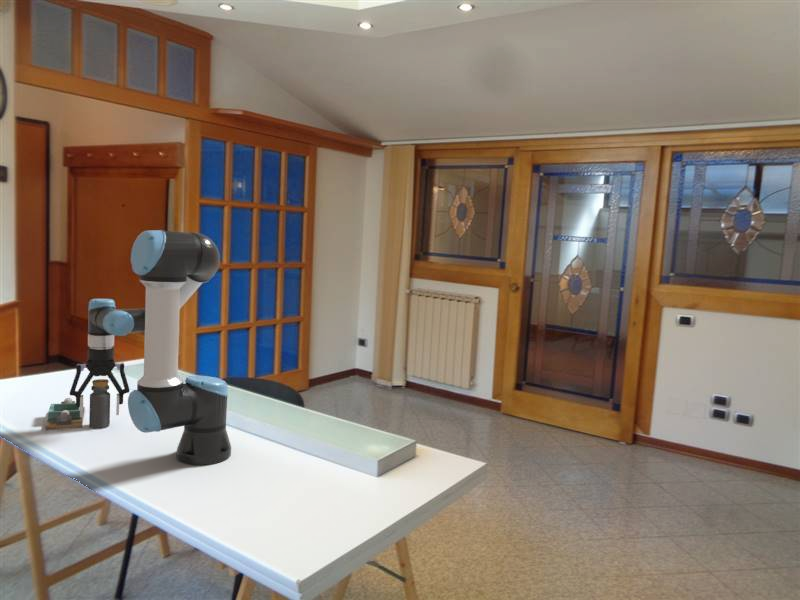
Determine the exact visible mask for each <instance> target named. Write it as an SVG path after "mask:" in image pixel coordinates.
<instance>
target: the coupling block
mask: <svg viewBox="0 0 800 600" xmlns="http://www.w3.org/2000/svg"><path fill="white" fill-rule="evenodd" d="M85 412H86V411H85V406H83V417H80V407H77V406H76V400H73V399H72V398H71V397H66V398H64V400H63V401H61V402H60V403H51V404H50V406H49V409H48V411H47V421H46V424H45V427H44V428H45V429H44V430H45V431H51V430H54V431H55V430H66V429H67V430H68V429H79V428H80V429H81V428H83V424H84V415H85Z"/></svg>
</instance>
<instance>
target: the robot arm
mask: <svg viewBox="0 0 800 600" xmlns="http://www.w3.org/2000/svg"><path fill="white" fill-rule="evenodd" d="M131 247H132V248H131V253H130V264H131V268H132V269H131V270H132V272H133V273H135V274H136V275H138V276H139V282H140V283H141V284H142V285H143V286H144V287H145V304H144V305H145V306H144V307H145V308H144V307H141V308H140V307H139V308H122V309H118V308H117V307H116V302H115V300H114V299H112V298H92V299H90V300H89V302H88V309H87V314H88V315H87V316H88V317H87V319H88V323H87V326H88V329H87V347H88V348H87V360H86V361H87V362H86V363H77V364H76V366H75V368H76V372H75V375H74V379H73V381H72V384H71V388H70V390H69V396H74V397H75V403H76V406H77V407H80V417H83V407H84V395H83V392H84V391H85V390H86V388H87V386H88V385H89V383H90V382H91V380H92V379H93V377H107V378H109V380H110V382H111V383H112V385H113V387H114V389H116V391H117V392H118V393H116V409H115V410H116V411H115V412H116V413H115V414H116V415H115V416H119V415H120V405H123V404H124V395H125V394H129V395H128V397H127V407H128V408H127V409H128V413H129V417H130V418H131V421H132V423H133V425H134V427H135V428H136V429H137V430H139V431H140V432H141V433H146V434H147V433H154V432H156V433H158V432H161V431H165V430H169V429H170V430H171V429H174V428H175V429H176V428H179V427H183V432H182V435H181V437H180V439H179V443H178V445H177V447H176V459H177V460H178V461H180V462H182V463H184V464H189V465H195V466H196V465H203V466H204V465H212V464H213V465H214V464H217V463H221V462H223V461H225V460H228V459H229V458H230V457H231V456H232V445H231V441H230V439H229V435H228V431H227V413H228V411H227V410H228V407H227V406H228V397H229V394H228V393H229V392H228V383H227V382H226V381H225V380H223V379H221V378H219V377H215V376H208V375H189V376H186V378H185V380H184V379H183V378H182V377H181V376H179V349H180V346H179V343H180V342H179V341H180V340H179V338H180V312H181V311H180V310H181V309H182V308H183V306H184V305H185V304H186V303H187V302H188V301H189V299H190V298H191V297H192V296H193V295H194V293H195V292H196V291H197V290H198V289H199V288H200V287H201V285H202V284H204V283H209V281H210V280H211V279H212V278H213V277H214V276H215V275H216V273H217V272H218V270H219V267H220V262H221V257H220V256H221V255H220V252H219V249H218V247H217V245H216V244H215V243H214V241H213V240H212V239H211V238H209V237H208V236H206V235H205V234H202V233H199V232H194V231H193V232H191V231H190V232H188V231H187V232H186V231H173V230H162V229H157V230H155V229H153V230H150V229H149V230H144V231H142V232H141V233H140V234H138V236H137V237H136V239H135V240H134V242H133V245H132V246H131ZM134 333H144V349H143V350H144V351H143V352H144V353H143V354H144V355H143V375H142V377H140V378H139V379H138V380H137V388H136V389H134V390H132V391H131V392H130V386H129V383H128V380H127V376H126V373H125V363H124V362H122V361H121V362H120V363H119V362H115V348H114V346H115V337H116V336H117V337H123V336H127V335H129V334H134ZM115 367H116V370H118V371H119V374H120V377H121V381H122V385H123V388H124V389H123V388H122V386H121V385H120V383H119V381H118V380H117V378H116V377H115V375H114V373H113V372H112V371H113V370H114V369H115ZM85 369H87V370H88V371H89V373H88V375H87V376H86V378H85V379H84V381H83V382H82V384H81V385H80V387H79V389H78V390H76V389H77V386H78V383H79V381H80V377H81V374H82V372H83V371H84V370H85ZM184 382H185V383H184ZM83 418H84V417H83Z"/></svg>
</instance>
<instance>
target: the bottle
mask: <svg viewBox="0 0 800 600" xmlns="http://www.w3.org/2000/svg"><path fill="white" fill-rule="evenodd" d="M109 380H110V379H105V378H98V379H94V380H92V382H91V383H92V386H90V387H91V391H92V392H91V393H90V394H89V423H88V425H89V428H91V429H95V430H98V429H99V430H100V429H101V430H102V429H106V428H108V427H110V423H111V421H110V416H111V393H110V392H108V390H109V389H110V385H109Z"/></svg>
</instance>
